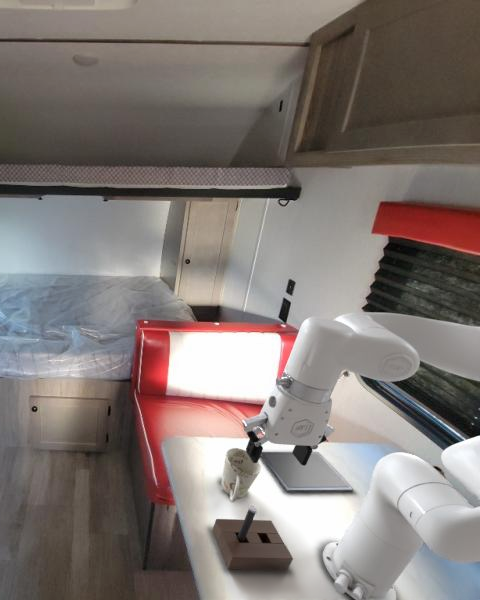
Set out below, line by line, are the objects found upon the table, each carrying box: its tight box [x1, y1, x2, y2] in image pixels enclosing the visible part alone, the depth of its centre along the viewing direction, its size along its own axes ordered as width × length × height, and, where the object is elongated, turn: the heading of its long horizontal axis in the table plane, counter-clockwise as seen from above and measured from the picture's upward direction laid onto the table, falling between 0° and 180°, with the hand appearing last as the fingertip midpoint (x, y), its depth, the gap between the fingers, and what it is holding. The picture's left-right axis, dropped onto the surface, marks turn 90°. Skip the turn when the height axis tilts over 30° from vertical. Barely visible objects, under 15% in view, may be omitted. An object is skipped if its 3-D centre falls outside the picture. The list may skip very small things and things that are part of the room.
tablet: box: [260, 451, 354, 493], centre depth 97 cm, size 20×13×1 cm, turn 95°
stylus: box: [237, 504, 258, 543], centre depth 73 cm, size 1×1×13 cm
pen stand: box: [211, 518, 294, 571], centre depth 74 cm, size 8×13×4 cm, turn 92°
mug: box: [221, 447, 262, 503], centre depth 86 cm, size 8×13×10 cm, turn 152°
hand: (274, 458), depth 65 cm, fingers open, 9 cm apart
